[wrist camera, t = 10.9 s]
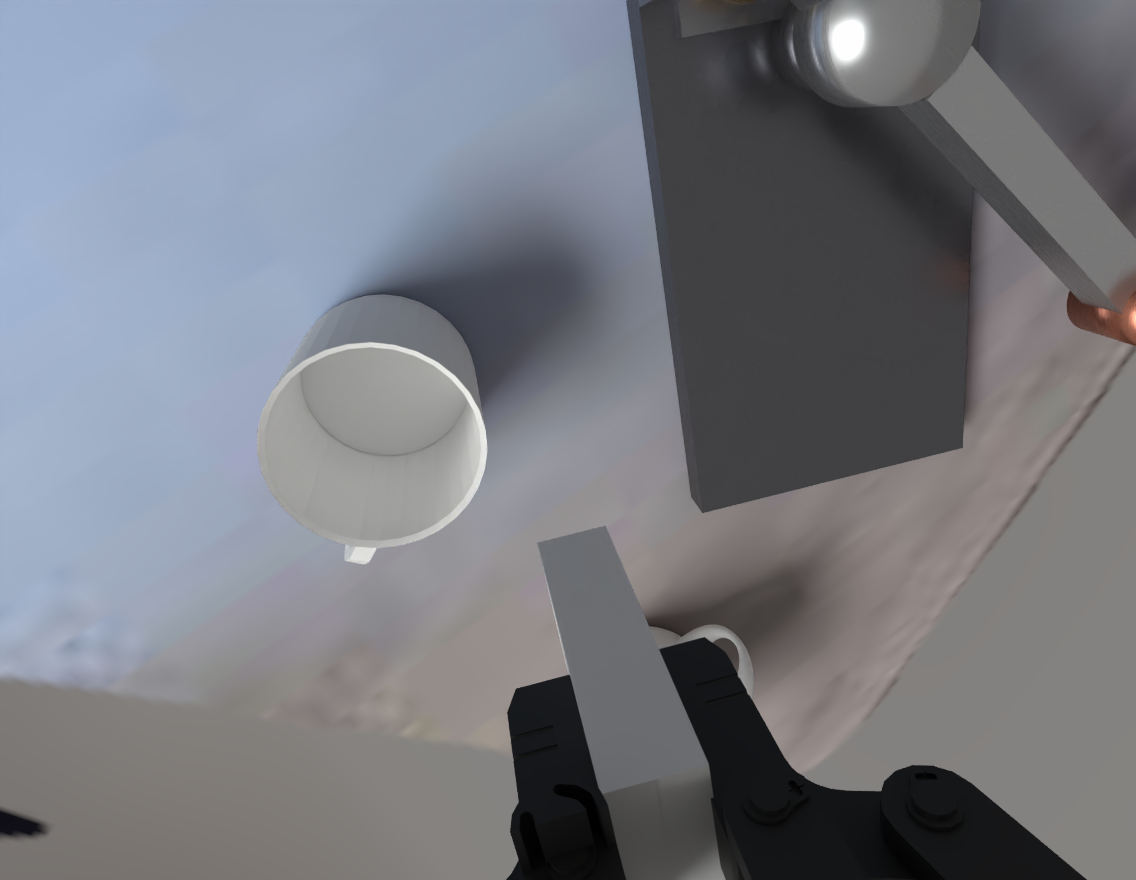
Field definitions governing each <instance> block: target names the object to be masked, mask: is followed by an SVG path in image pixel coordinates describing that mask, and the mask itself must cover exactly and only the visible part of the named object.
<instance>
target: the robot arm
mask: <svg viewBox="0 0 1136 880" xmlns="http://www.w3.org/2000/svg"><path fill="white" fill-rule="evenodd" d="M537 544H538V548H539V553H540V557H541V561H542V565H543V570H544V574H545V578H546V582H547V587H548V591H549V595H550V599H551V604H552V608H553V612H554V616H555V621H556V625H557V629H558V633H559V638H560V642H561V646H562V650H563V654H564V658H565V662H566V666H567V670H568V674H569V675H566V676H563V677H559V678H555V679H551V680H547V681H544V682H540V683H536V684H532V685H529V686H525V687H521V688H517V689H516V690H515V693H514V696H513V698H512V701H511V704H510V707H509V709H508V712H507V714H508V722H509V730H510V737H511V745H512V753H513V759H514V768H515V776H516V783H517V792H518V799H519V803H518V805H517V806H516V808H515V810H514V812H513V814H512V820H511V829H510V833H511V836H512V839H513V843H514V845H515V849H516V852H517V855H518V859H519V861H518V863H517V865H516V867H515V868H514V870H513V872H512V873H511V875H510V876H509V877H508V878H507V879H506V880H725V879H726V880H1086V879H1085V878H1084V877H1083V876H1082V875H1080V874H1079V873H1078V872H1077V871H1076V870H1075V869H1073V868H1072V867H1071V866H1070V865H1069V864H1067V863H1066V862H1065V861H1064V860H1063V859H1061V858H1060V857H1059V856H1058V855H1057V854H1055V853H1054V852H1053V851H1052V850H1051V849H1049V848H1048V847H1047V846H1046V845H1044V844H1043V843H1042V842H1041V841H1040V840H1039V839H1037V838H1036V837H1035V836H1034V835H1033V834H1031V833H1030V832H1029V831H1028V830H1027V829H1025V828H1024V827H1023V826H1022V825H1020V824H1019V823H1018V822H1017V821H1016V820H1015V819H1013V818H1012V817H1011V816H1010V815H1009V814H1007V813H1006V812H1005V811H1004V810H1003V809H1002V808H1000V807H999V806H998V805H997V804H996V803H994V802H993V801H992V800H991V799H989V798H988V797H987V796H986V795H985V794H984V793H982V792H981V791H980V790H978V788H976V787H975V786H974V785H973V784H972V783H970V782H968V781H967V780H965V779H964V778H962V777H960V776H959V775H957V774H956V773H954V772H952V771H948V770H945V769H941V768H938V767H935V766H922V765H921V766H920V765H918V766H917V765H912V766H909V767H906V768H903V769H900V770H897V771H895V772H894V773H893V774H892V775H891V776H890V777H889V778H887V779H886V780H885V781H884V784H883V787H882V791H879V792H877V791H845V790H836V789H830V788H826V787H823V786H820V785H817V784H815V783H813V782H811V781H809V780H807V779H806V778H805V777H804V776H802V775H801V774H799V773H797V772H796V771H795V770H794V769H793V768H792V767H791V766H790V765H789V763H788V762H787V761H786V759H785V758H784V756H783V754H782V753H781V751H780V749H779V747H778V745H777V744H776V742H775V740H774V738H773V736H772V735H771V733H770V731H769V729H768V727H767V726H766V724H765V722H764V720H763V719H762V717H761V715H760V713H759V711H758V710H757V708H756V706H755V704H754V702H753V701H752V699H751V697H750V695H748V693H747V690H746V688H745V686H744V684H743V683H742V681H741V679H740V677H738V674H737V672H736V670H735V668H734V667H733V665H732V663H731V661H730V659H729V658H728V656H727V654H726V652H724V651H723V650H722V649H720V648H719V647H718V646H716V645H715V644H713V643H712V642H711V641H709V640H708V639H707V638H705V637H703V638H699V639H695V640H691V641H688V642H684V643H680V644H676V645H672V646H669V647H665V648H661V649H659V648H658V646H657V644H656V642H655V639H654V637H653V635H652V632H651V630H650V628H649V625H648V623H647V621H646V618H645V616H644V614H643V612H642V609H641V607H640V605H639V602H638V600H637V598H636V595H635V593H634V591H633V588H632V586H631V584H630V582H629V579H628V577H627V575H626V572H625V570H624V568H623V565H622V563H621V561H620V559H619V556H618V554H617V552H616V549H615V547H614V545H613V542H612V540H611V538H610V535H609V533H608V531H607V529H606V526H603V527H599V528H595V529H591V530H587V531H583V532H579V533H575V534H571V535H567V536H563V537H559V538H555V539H551V540H547V541H543V542H539V543H537Z"/></svg>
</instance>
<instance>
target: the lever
mask: <svg viewBox="0 0 1136 880" xmlns="http://www.w3.org/2000/svg"><path fill="white" fill-rule="evenodd" d="M791 2H792V3H793V4H794V5H795V6H796V7H797V9H796V13H795V18H794V24H793V47H794V53H795V58H796V61H797V64H798V68H799V70H800V72H801V74H802V76H803V78H804V79H805V81H806V83H807V84H808V85H809V87H810V88H811V89H812V90H813V91H814V92H815V93H816V94H817V95H818V96H819V97H821V98H822V99H824V100H826V101H827V102H829V103H832V104H834V105H837V106H842V107H850V108H858V107H882V106H898V107H899V109H900V110H901V111H902V112H903V113H904V114H905V115H906V116H907V117H908V118H909V119H910V120H911V121H912V122H913V123H914V125H915V126H916V127H917V128H918V129H919V130H920V131H921V132H922V133H923V134H924V135H925V136H926V137H927V138H928V139H929V141H930V142H931V143H932V144H933V145H934V146H935V147H936V148H937V149H938V150H939V151H940V152H941V153H942V154H943V155H944V157H945V158H946V159H947V160H948V161H949V162H950V163H951V164H952V165H953V166H954V167H955V168H956V169H957V170H958V171H959V173H960V174H961V175H962V176H963V177H964V178H965V179H966V180H967V181H968V182H969V183H970V184H971V185H972V186H973V187H974V189H975V190H976V191H977V192H978V193H979V194H980V195H981V196H982V197H983V198H984V199H985V200H986V201H987V202H988V203H989V205H990V206H991V207H992V208H993V209H994V210H995V211H996V212H997V213H998V214H999V215H1000V216H1001V217H1002V218H1003V219H1004V221H1005V222H1006V223H1007V224H1008V225H1009V226H1010V227H1011V228H1012V229H1013V230H1014V231H1015V232H1016V233H1017V234H1018V235H1019V237H1020V238H1021V239H1022V240H1023V241H1024V242H1025V243H1026V244H1027V245H1028V246H1029V247H1030V248H1031V249H1032V250H1033V251H1034V253H1035V254H1036V255H1037V256H1038V257H1039V258H1040V259H1041V260H1042V261H1043V262H1044V263H1045V264H1046V265H1047V266H1048V267H1049V269H1050V270H1051V271H1052V272H1053V273H1054V274H1055V275H1056V276H1057V277H1058V278H1059V279H1060V280H1061V281H1062V282H1063V283H1064V285H1065V286H1066V287H1067V288H1068V289H1069V290H1070V292H1069V295H1068V299H1067V313H1068V316H1069V319H1070V320H1071V322H1072V323H1073V324H1074V325H1075V326H1076V327H1078V328H1080V329H1083V330H1086V331H1090V332H1093V333H1096V334H1099V335H1102V336H1106V337H1109V338H1112V339H1115V340H1118V341H1121V342H1125V343H1128V344H1131V345H1134V346H1136V239H1135V238H1134V236H1133V235H1132V234H1131V233H1130V232H1129V231H1128V229H1127V228H1126V227H1125V226H1124V225H1123V223H1122V222H1121V221H1120V220H1119V219H1118V218H1117V216H1116V215H1115V214H1114V213H1113V212H1112V210H1111V209H1110V208H1109V207H1108V206H1107V205H1106V203H1105V202H1104V201H1103V200H1102V199H1101V197H1100V196H1099V195H1098V194H1097V193H1096V192H1095V190H1094V189H1093V188H1092V187H1091V186H1090V184H1089V183H1088V182H1087V181H1086V180H1085V179H1084V177H1083V176H1082V175H1081V174H1080V173H1079V172H1078V170H1077V169H1076V168H1075V167H1074V166H1073V164H1072V163H1071V162H1070V161H1069V160H1068V159H1067V157H1066V156H1065V155H1064V154H1063V153H1062V151H1061V150H1060V149H1059V148H1058V147H1057V146H1056V144H1055V143H1054V142H1053V141H1052V140H1051V138H1050V137H1049V136H1048V135H1047V134H1046V133H1045V131H1044V130H1043V129H1042V128H1041V127H1040V125H1039V124H1038V123H1037V122H1036V121H1035V120H1034V118H1033V117H1032V116H1031V115H1030V114H1029V113H1028V111H1027V110H1026V109H1025V108H1024V107H1023V105H1022V104H1021V103H1020V102H1019V101H1018V100H1017V98H1016V97H1015V96H1014V95H1013V94H1012V92H1011V91H1010V90H1009V89H1008V88H1007V87H1006V85H1005V84H1004V83H1003V82H1002V81H1001V79H1000V78H999V77H998V76H997V75H996V74H995V72H994V71H993V70H992V69H991V68H990V66H989V65H988V64H987V63H986V62H985V61H984V59H983V58H982V57H981V56H980V55H979V54H978V52H977V51H976V50H975V49H974V48H973V46H971V44H972V42H973V39H974V36H975V33H976V30H977V26H978V22H979V17H980V10H981V0H791Z"/></svg>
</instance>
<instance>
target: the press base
mask: <svg viewBox="0 0 1136 880" xmlns="http://www.w3.org/2000/svg"><path fill="white" fill-rule="evenodd" d="M626 2H627V9H628V17H629V24H630V32H631V40H632V47H633V55H634V63H635V70H636V78H637V86H638V93H639V101H640V108H641V116H642V124H643V131H644V139H645V147H646V154H647V162H648V170H649V177H650V185H651V192H652V200H653V208H654V215H655V223H656V231H657V238H658V246H659V254H660V261H661V269H662V277H663V284H664V292H665V299H666V307H667V315H668V322H669V330H670V338H671V345H672V353H673V361H674V368H675V376H676V383H677V391H678V399H679V406H680V414H681V422H682V429H683V437H684V445H685V452H686V460H687V467H688V475H689V483H690V490H691V497H692V499H693V500H694V502H695V503H696V504H697V506H698V507H699V509H700V510H701V512H702V513H704V512H708V511H712V510H716V509H720V508H724V507H728V506H732V505H736V504H740V503H744V502H748V501H752V500H756V499H760V498H764V497H768V496H772V495H776V494H780V493H784V492H788V491H792V490H796V489H800V488H804V487H808V486H812V485H816V484H820V483H824V482H828V481H832V480H836V479H840V478H844V477H848V476H852V475H856V474H860V473H864V472H868V471H872V470H876V469H880V468H884V467H888V466H892V465H896V464H900V463H904V462H908V461H912V460H916V459H920V458H924V457H928V456H932V455H936V454H940V453H944V452H948V451H952V450H956V449H960V448H963V426H964V401H965V376H966V350H967V325H968V300H969V275H970V250H971V225H972V200H973V186H972V185H971V184H970V183H969V182H968V181H967V180H966V179H965V178H964V177H963V176H962V175H961V174H960V173H959V171H958V170H957V169H956V168H955V167H954V166H953V165H952V164H951V163H950V162H949V161H948V160H947V159H946V158H945V157H944V155H943V154H942V153H941V152H940V151H939V150H938V149H937V148H936V147H935V146H934V145H933V144H932V143H931V142H930V141H929V139H928V138H927V137H926V136H925V135H924V134H923V133H922V132H921V131H920V130H919V129H918V128H917V127H916V126H915V125H914V123H913V122H912V121H911V120H910V119H909V118H908V117H907V116H906V115H905V114H904V113H903V112H902V111H901V110H900V109H899V107H898V106H882V107H858V108H850V107H842V106H837V105H834V104H832V103H829V102H827V101H826V100H824V99H822V98H821V97H819V96H818V95H817V94H816V93H815V92H814V91H813V90H812V89H811V88H810V87H809V85H808V84H807V83H806V81H805V79H804V78H803V76H802V74H801V72H800V70H799V68H798V64H797V61H796V58H795V53H794V47H793V24H794V18H795V13H796V9H797V7H796V6H795V5H794V4H793V3H792V2H791V0H628V1H626ZM979 24H980V17H979V22H978V26H977V30H976V33H975V36H974V39H973V42H972V44H971V46H973V48H974V49H975V50H976V51H977V52H978V49H979Z"/></svg>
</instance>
